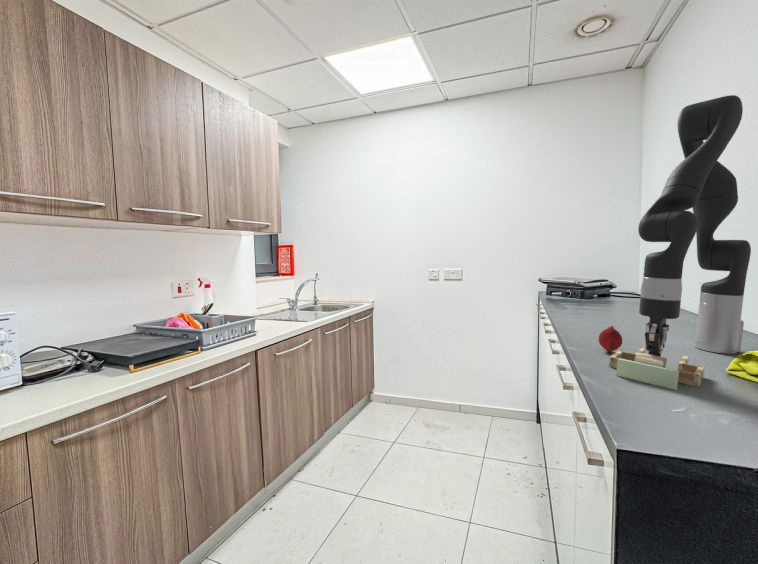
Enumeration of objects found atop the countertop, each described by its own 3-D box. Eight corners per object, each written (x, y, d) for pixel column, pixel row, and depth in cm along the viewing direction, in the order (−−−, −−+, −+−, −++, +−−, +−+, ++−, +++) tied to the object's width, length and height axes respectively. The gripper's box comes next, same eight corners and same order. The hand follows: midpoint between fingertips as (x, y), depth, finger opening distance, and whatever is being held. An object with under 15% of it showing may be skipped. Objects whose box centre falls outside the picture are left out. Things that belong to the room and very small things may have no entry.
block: (638, 372, 84) (640, 352, 83) (664, 378, 80) (666, 357, 80) (633, 377, 81) (635, 357, 80) (660, 384, 77) (663, 362, 76)
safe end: (617, 374, 82) (618, 358, 82) (677, 388, 74) (679, 370, 74) (616, 375, 82) (617, 359, 81) (676, 389, 74) (678, 371, 73)
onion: (625, 355, 97) (627, 328, 97) (602, 354, 98) (605, 326, 98) (615, 350, 103) (617, 323, 102) (594, 348, 104) (596, 322, 103)
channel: (625, 353, 99) (626, 345, 99) (706, 369, 87) (707, 359, 87) (602, 371, 85) (603, 361, 84) (696, 393, 72) (697, 381, 72)
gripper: (676, 301, 75) (668, 378, 77) (684, 296, 84) (677, 365, 85) (634, 297, 80) (628, 369, 82) (646, 292, 89) (640, 357, 91)
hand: (653, 367), depth 84 cm, fingers closed
